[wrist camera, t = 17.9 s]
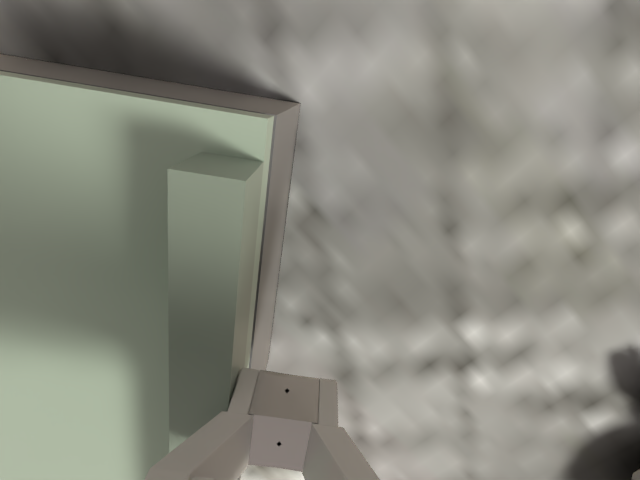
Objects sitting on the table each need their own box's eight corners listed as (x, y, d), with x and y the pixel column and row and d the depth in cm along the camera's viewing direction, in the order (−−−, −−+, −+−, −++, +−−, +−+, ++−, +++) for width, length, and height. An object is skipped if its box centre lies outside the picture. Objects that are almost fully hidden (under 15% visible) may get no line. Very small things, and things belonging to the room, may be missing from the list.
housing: (-28, 49, 17) (-316, 17, 9) (300, 103, 17) (277, 115, 10) (23, 322, 22) (-129, 438, 15) (268, 357, 23) (238, 486, 15)
